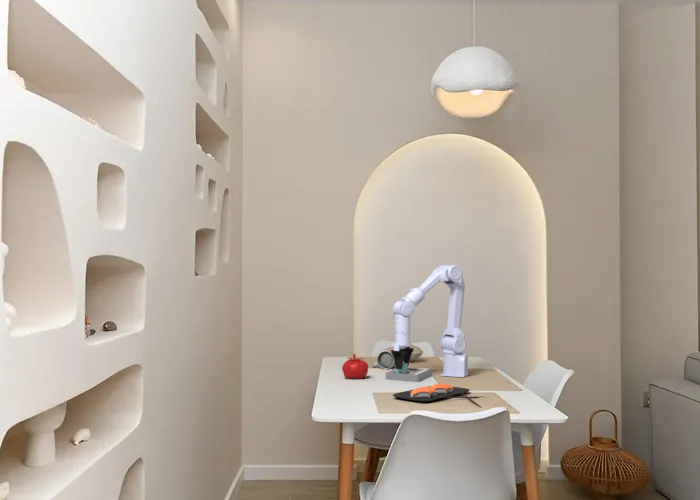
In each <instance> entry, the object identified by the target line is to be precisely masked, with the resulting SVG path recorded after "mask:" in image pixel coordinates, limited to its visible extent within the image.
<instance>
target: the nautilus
mask: <svg viewBox="0 0 700 500" xmlns="http://www.w3.org/2000/svg"><path fill="white" fill-rule="evenodd" d="M410 348H414V351H413V352H412V354H411V357H410V361H409V363H410V362H413V361H414V360H417V359H418V358H420V357H421V356H422V355H423V353H424V351H423V350H422V349H421V348H420V347H419V346H417V345H414V344H411V347H410ZM393 349H394V346H393V347H388V348H384V351H388V350H390V351H391V350H393Z"/></svg>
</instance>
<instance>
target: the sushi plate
mask: <svg viewBox="0 0 700 500" xmlns="http://www.w3.org/2000/svg"><path fill="white" fill-rule="evenodd" d="M470 391H471V389H470V388H467V387H466V388H465V387H458V386H452V385H451V384H449V383H439V382H438V383H434V384H433V385H430V386H429V385H428V386H420V387H417V388H415V389H410V390H404V391H400V392H395V393H394V394H392V396H393V397H395V398H398V399H402V400H405V399H406V401H411V400H412V401H413V402H418V401H419V403H427V401H428V402H431V401H436V400H437V401H438V400H441V399H468V400H469V401H470V402H471V403H472V404H473V405H475V406H477V407H479V408H481V409H483V408H482V406H481V405H479V404H478V403H477V402H476V401H475V400H473V399H480V398H479V397H480V396H468V395H466V394H465V393H469V392H470ZM456 395H463V396H456ZM484 396H485V395H484ZM484 396H483V395H482V396H481V397H484ZM484 398H485V397H484Z"/></svg>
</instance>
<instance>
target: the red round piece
mask: <svg viewBox="0 0 700 500" xmlns="http://www.w3.org/2000/svg"><path fill="white" fill-rule="evenodd" d="M356 357H357V356H356V353H352V357H346V361H345V362H344V363H343V365H342V367H341V369H342V373H343V376H344V377H345V379H349V380H362V379H364V378H365V377H366V376H367V374H368V372H369V365H368V363H367V362H366V360H365V359H364V358H362V357H358V358H356ZM347 359H348V360H347Z"/></svg>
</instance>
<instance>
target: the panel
mask: <svg viewBox="0 0 700 500" xmlns="http://www.w3.org/2000/svg"><path fill="white" fill-rule="evenodd" d="M431 376H432V369H430V368H418V367H417V368H416V367H415V368H414V367H408V374H400V373H396V368H394V369H392V370H389V371H387V372H385V380H389V381H391V380H392V381H401V382H402V381H404V382H413V383H414V382H421V381H422V380H425V379H427V378H429V377H431Z"/></svg>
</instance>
